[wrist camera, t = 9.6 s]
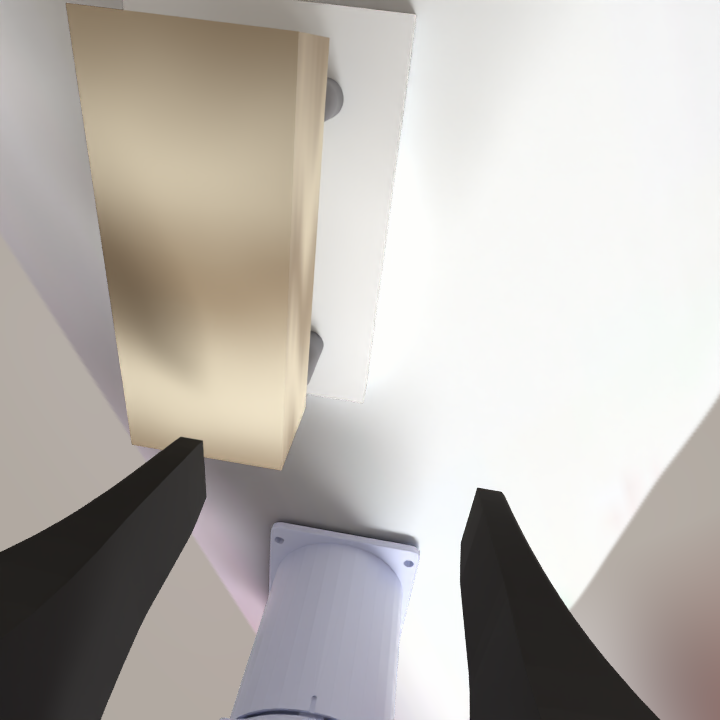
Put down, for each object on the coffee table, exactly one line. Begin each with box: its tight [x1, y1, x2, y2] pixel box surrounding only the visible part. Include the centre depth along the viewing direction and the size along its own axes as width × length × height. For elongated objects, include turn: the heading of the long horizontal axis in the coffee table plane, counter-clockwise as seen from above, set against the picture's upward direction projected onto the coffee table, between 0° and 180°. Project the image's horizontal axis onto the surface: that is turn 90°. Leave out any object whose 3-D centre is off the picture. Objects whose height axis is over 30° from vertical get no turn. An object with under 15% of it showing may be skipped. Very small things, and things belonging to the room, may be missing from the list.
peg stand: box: [122, 0, 416, 403], centre depth 18 cm, size 14×9×4 cm, turn 174°
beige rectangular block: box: [66, 3, 330, 470], centre depth 15 cm, size 12×5×4 cm, turn 174°
